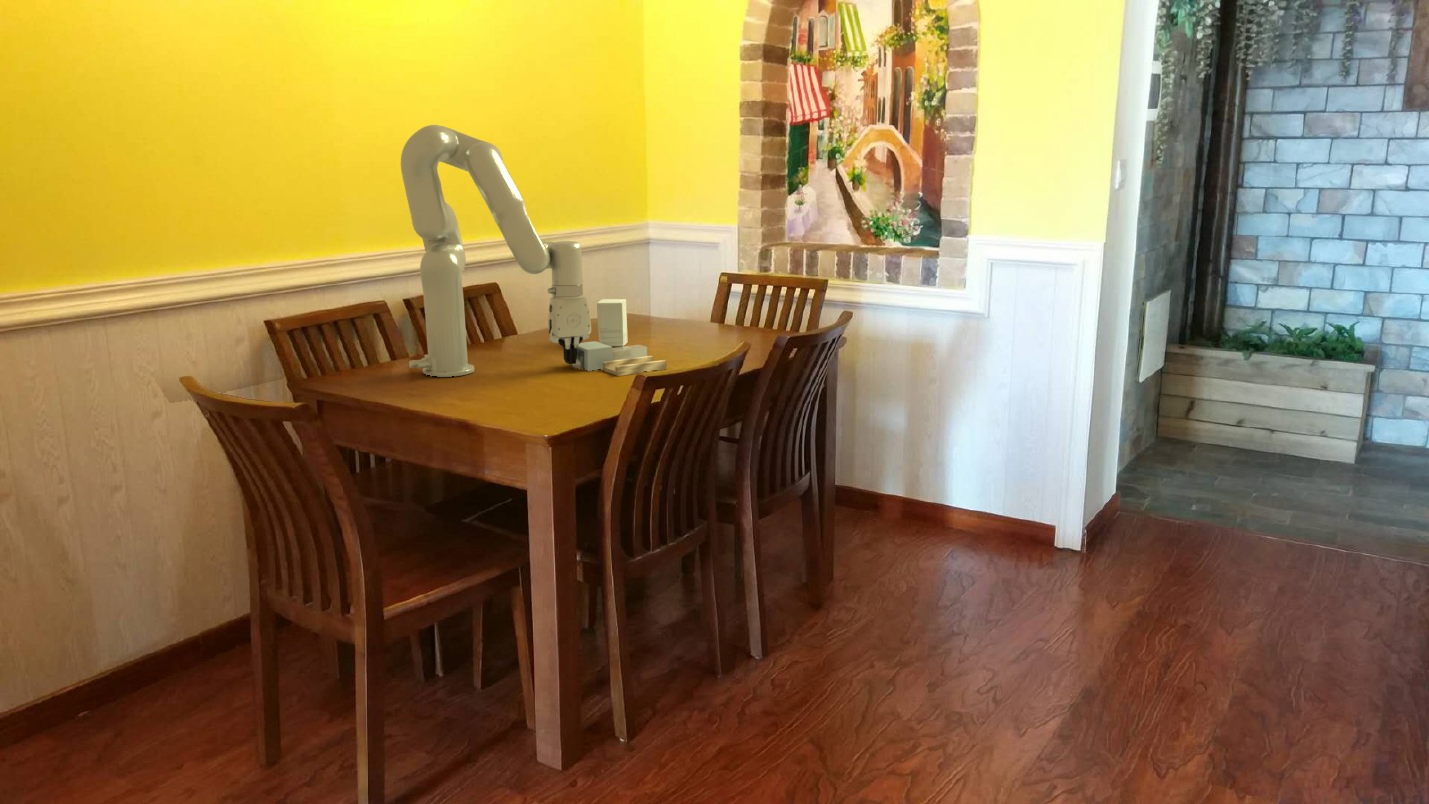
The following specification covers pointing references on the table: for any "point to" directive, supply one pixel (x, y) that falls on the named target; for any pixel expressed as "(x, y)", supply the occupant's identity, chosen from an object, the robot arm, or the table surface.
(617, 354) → the bar
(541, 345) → the table surface
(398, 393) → the table surface
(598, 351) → the grey arch block
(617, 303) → the supplement box
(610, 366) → the cradle
